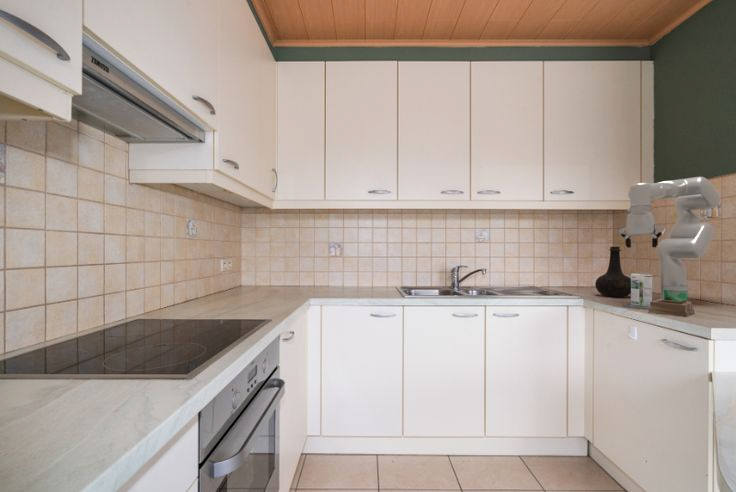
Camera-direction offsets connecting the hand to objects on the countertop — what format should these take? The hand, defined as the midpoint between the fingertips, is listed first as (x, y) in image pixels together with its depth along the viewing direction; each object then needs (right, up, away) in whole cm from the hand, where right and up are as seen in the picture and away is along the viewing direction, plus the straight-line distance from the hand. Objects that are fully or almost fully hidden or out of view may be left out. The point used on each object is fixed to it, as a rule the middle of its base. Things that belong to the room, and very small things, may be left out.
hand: (641, 247), depth 162 cm
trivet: (0, -27, 0) cm, 27 cm away
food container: (+16, -28, -2) cm, 32 cm away
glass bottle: (+12, -28, +35) cm, 47 cm away
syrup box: (0, -27, 0) cm, 27 cm away
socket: (+1, -27, -15) cm, 31 cm away
